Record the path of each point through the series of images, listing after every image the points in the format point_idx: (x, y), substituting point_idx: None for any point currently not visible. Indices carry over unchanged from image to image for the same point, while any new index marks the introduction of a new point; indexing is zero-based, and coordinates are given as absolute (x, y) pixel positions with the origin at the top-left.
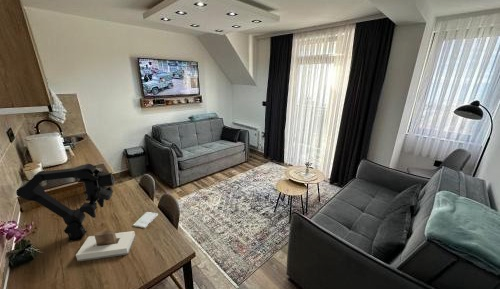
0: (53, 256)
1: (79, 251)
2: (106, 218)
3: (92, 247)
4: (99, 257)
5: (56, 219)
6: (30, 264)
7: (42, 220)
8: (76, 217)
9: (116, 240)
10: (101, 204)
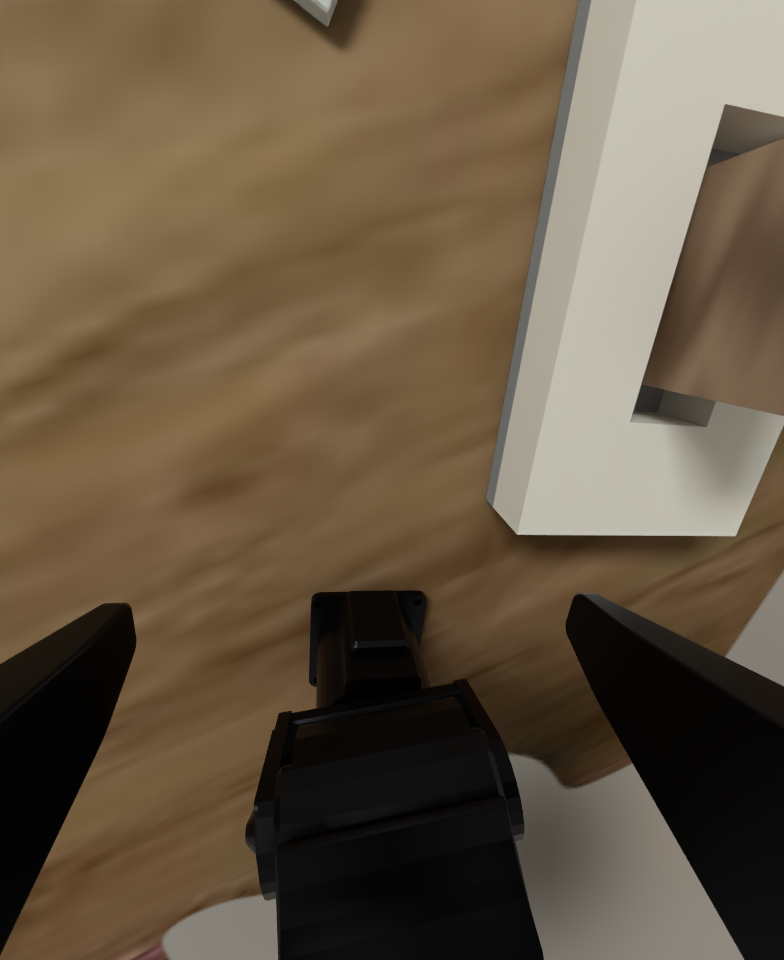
0: (542, 676)
1: (704, 525)
2: (93, 486)
3: (715, 428)
4: None
5: (91, 873)
6: (558, 748)
7: (100, 934)
8: (515, 886)
9: (728, 164)
10: (80, 705)
